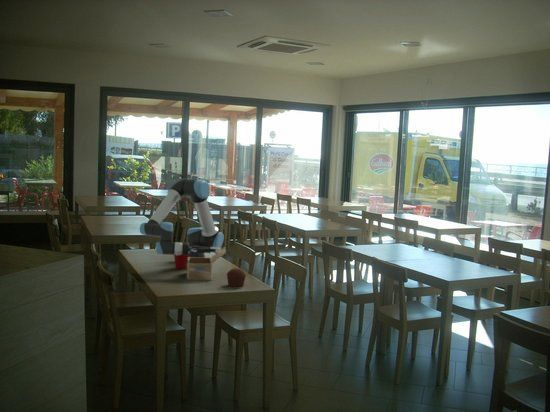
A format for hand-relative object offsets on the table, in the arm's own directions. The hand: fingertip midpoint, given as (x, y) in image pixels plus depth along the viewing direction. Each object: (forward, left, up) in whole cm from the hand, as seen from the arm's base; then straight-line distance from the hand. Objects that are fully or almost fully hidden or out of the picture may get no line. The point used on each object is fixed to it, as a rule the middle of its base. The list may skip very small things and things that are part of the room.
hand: (220, 250), depth 353 cm
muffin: (+11, +20, -17) cm, 28 cm away
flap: (+3, -5, -7) cm, 9 cm away
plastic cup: (-3, -33, -17) cm, 38 cm away
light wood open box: (+7, -10, -17) cm, 21 cm away
